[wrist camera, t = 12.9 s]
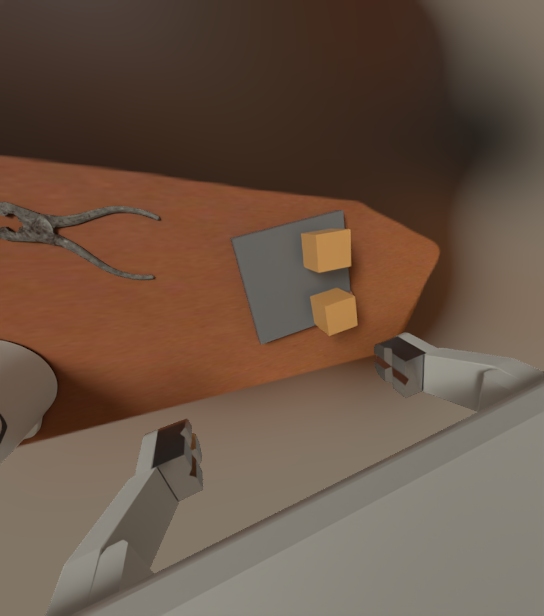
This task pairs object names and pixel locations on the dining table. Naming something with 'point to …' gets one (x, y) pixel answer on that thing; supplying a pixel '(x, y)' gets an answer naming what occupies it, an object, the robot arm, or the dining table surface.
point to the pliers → (44, 226)
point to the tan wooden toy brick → (326, 249)
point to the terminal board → (292, 281)
